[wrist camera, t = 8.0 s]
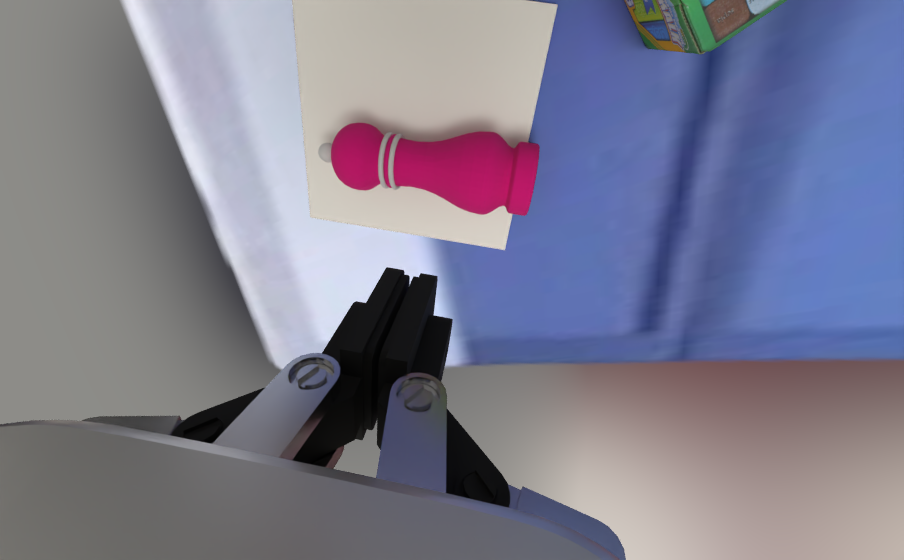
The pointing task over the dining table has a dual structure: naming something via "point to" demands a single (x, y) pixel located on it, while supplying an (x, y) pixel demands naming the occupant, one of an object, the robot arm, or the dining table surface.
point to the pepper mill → (438, 166)
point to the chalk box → (694, 21)
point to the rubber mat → (416, 95)
